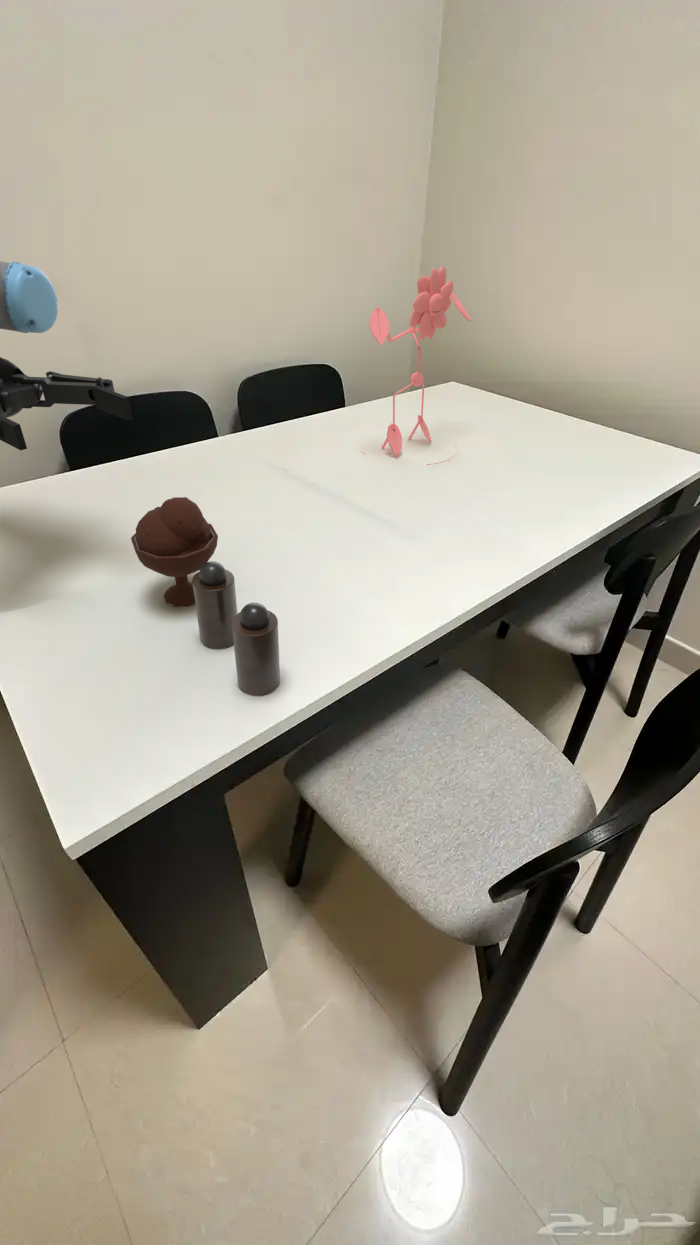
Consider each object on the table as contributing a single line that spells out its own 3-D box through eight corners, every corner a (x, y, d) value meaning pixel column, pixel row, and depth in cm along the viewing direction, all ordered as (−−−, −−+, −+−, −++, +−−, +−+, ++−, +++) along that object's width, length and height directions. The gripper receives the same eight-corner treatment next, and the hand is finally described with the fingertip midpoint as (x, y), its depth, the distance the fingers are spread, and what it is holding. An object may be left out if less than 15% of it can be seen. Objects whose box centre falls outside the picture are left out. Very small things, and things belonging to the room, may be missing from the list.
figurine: (352, 456, 125) (361, 266, 103) (428, 430, 139) (450, 259, 118) (405, 479, 116) (428, 278, 95) (481, 449, 131) (515, 269, 109)
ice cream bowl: (211, 568, 88) (199, 474, 79) (231, 609, 80) (222, 510, 71) (138, 582, 84) (117, 486, 75) (152, 626, 76) (131, 525, 67)
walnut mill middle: (211, 654, 73) (201, 579, 66) (193, 633, 76) (182, 560, 69) (246, 640, 75) (240, 566, 68) (228, 620, 78) (220, 548, 71)
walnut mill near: (250, 702, 66) (244, 625, 60) (230, 677, 69) (221, 601, 63) (288, 684, 69) (285, 609, 62) (266, 661, 72) (262, 587, 65)
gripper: (78, 392, 87) (169, 427, 78) (-106, 434, 71) (-22, 486, 62) (66, 337, 83) (160, 368, 73) (-135, 370, 67) (-48, 415, 57)
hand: (77, 422), depth 67 cm, fingers open, 13 cm apart
